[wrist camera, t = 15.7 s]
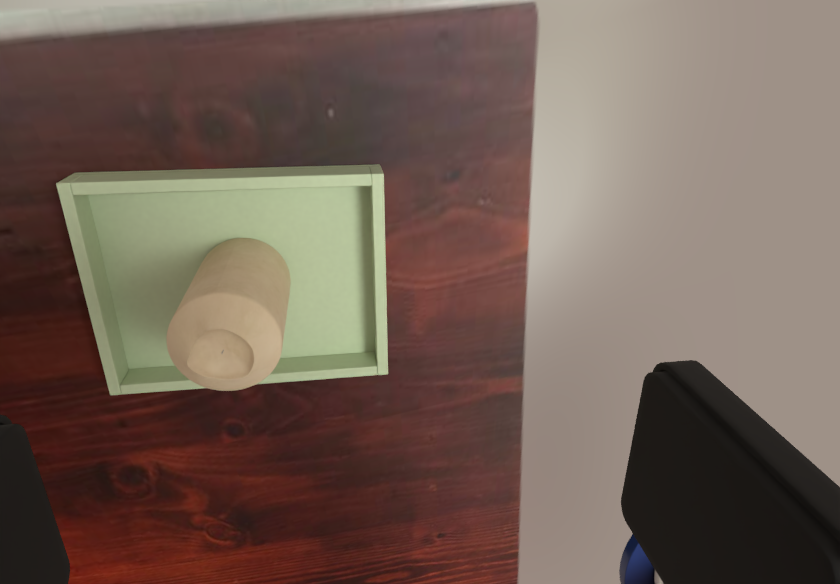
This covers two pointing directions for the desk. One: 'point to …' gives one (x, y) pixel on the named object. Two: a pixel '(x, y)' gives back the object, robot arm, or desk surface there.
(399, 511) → the desk surface
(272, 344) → the candle
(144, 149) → the desk surface
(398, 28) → the desk surface
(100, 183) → the tray
